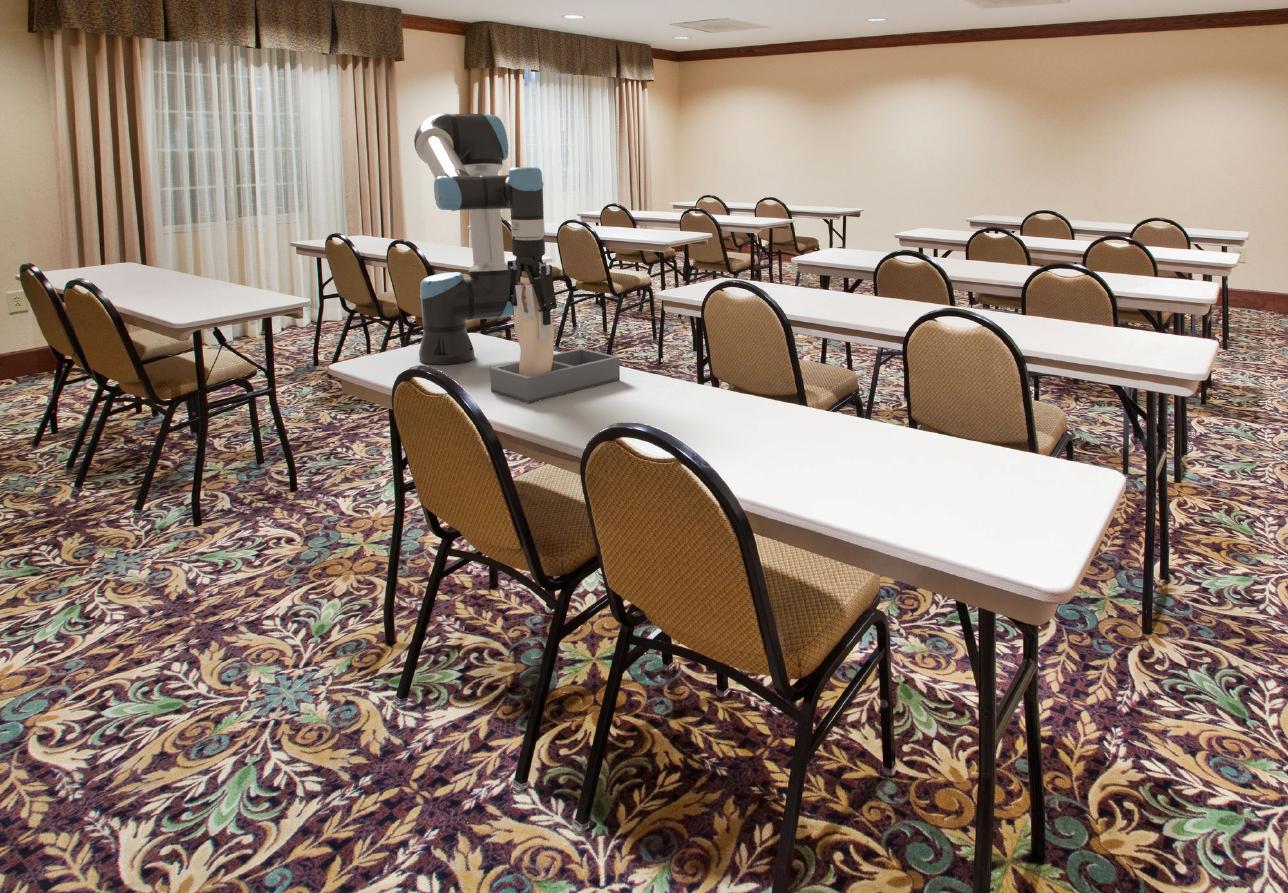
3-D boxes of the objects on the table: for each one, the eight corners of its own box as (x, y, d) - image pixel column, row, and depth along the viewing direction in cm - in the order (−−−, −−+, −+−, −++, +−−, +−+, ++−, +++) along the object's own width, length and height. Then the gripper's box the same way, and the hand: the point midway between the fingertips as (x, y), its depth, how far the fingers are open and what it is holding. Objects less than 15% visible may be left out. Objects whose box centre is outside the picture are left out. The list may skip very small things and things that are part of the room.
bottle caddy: (491, 391, 206) (489, 367, 204) (582, 370, 226) (581, 348, 224) (528, 403, 196) (527, 378, 194) (619, 380, 216) (619, 357, 214)
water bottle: (551, 393, 201) (547, 274, 191) (513, 392, 201) (508, 273, 192) (557, 382, 210) (554, 268, 201) (521, 381, 211) (516, 267, 201)
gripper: (486, 235, 199) (492, 331, 206) (545, 242, 185) (548, 344, 192) (512, 233, 204) (517, 326, 211) (571, 240, 190) (573, 339, 197)
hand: (532, 335), depth 202 cm, fingers open, 9 cm apart
